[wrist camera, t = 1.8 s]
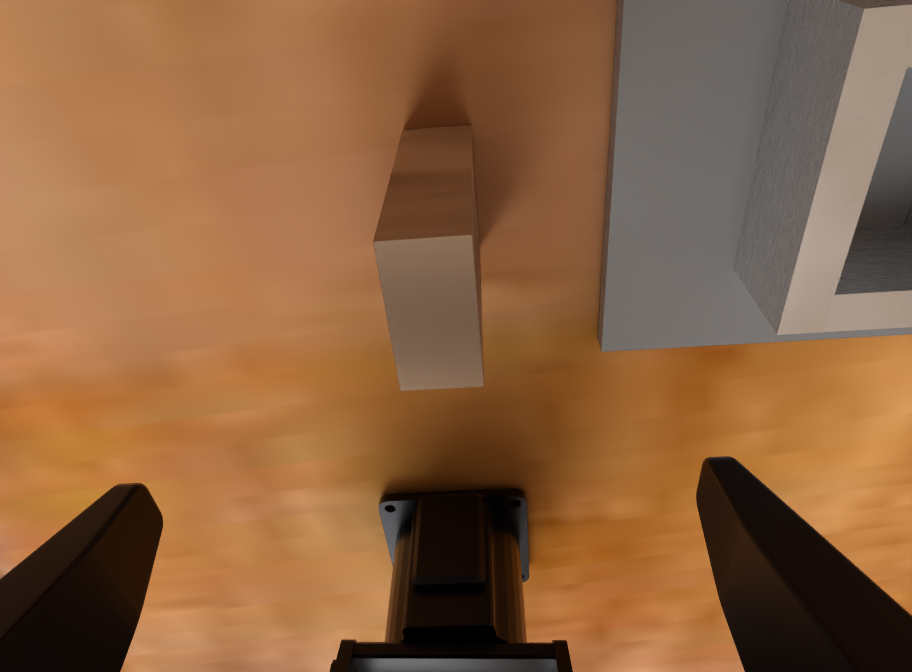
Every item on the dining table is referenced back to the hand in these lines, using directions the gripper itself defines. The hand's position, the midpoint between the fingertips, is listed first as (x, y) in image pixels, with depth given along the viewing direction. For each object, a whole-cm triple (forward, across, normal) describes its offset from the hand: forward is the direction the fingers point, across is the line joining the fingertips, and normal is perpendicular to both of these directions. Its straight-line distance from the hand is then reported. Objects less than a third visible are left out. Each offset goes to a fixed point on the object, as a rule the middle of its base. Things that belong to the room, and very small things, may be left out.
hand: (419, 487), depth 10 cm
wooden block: (+12, 0, 0) cm, 12 cm away
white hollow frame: (+12, -12, -1) cm, 17 cm away
